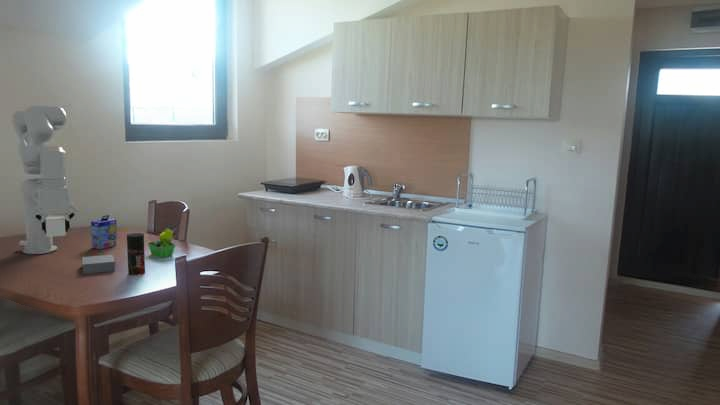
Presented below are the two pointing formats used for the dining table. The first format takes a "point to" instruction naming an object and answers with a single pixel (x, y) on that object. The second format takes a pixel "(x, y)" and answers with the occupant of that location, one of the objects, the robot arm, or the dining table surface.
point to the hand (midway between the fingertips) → (56, 231)
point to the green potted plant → (163, 245)
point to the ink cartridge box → (103, 233)
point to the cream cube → (55, 226)
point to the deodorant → (136, 254)
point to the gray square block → (98, 264)
